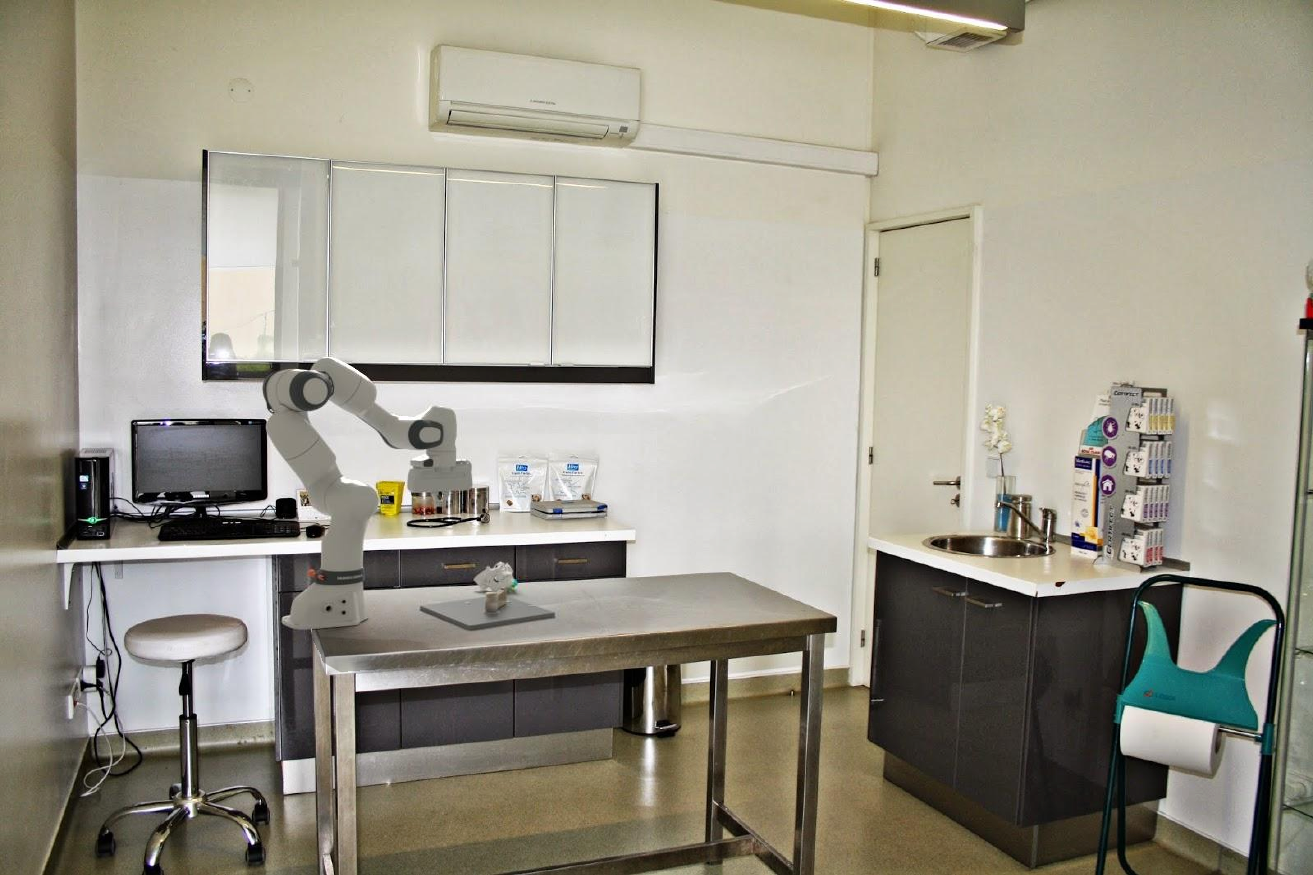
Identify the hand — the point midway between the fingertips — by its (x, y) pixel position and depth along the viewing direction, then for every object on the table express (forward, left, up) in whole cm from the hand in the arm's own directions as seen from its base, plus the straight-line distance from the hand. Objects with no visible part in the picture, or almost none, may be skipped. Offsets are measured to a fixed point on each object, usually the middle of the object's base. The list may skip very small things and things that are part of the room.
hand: (440, 506), depth 299 cm
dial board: (+5, -20, -29) cm, 36 cm away
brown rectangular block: (+8, -21, -28) cm, 35 cm away
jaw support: (+25, +5, -29) cm, 39 cm away
